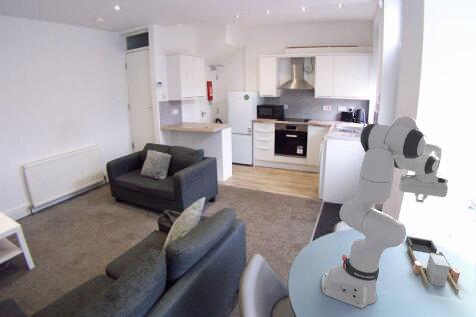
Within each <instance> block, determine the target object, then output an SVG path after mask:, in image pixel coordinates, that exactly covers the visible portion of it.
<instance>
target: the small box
mask: <svg viewBox="0 0 476 317" xmlns="http://www.w3.org/2000/svg"><path fill="white" fill-rule="evenodd" d="M444 257H445V255H444V256H439V255H434V254H430V253H429V256H428V260H427V263H426V264H427V265H426V267H427V268H426V272H425V275H426V278H427V280H428V282H429V284H432V285H436V286H440V287H445V286H446V284H447V283H446V282H447V280H448V279H447V276H448V272H449V268H450V267H451V265H450V264H449V265H450V266H449V265H448V263H449V262H448V260H447V258H446V257H445V258H446V259H445V258H444ZM446 260H447V261H446ZM447 262H448V263H447Z"/></svg>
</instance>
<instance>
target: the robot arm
mask: <svg viewBox="0 0 476 317" xmlns="http://www.w3.org/2000/svg"><path fill="white" fill-rule="evenodd" d="M359 141H360V145H361V146H362V149H363V150H364V153H365V154H364V156H363V159H362V163H361V167H360V174H359V181H358V187H357V191H356V194H355V196H354V197H353V198H352V199H351V200H347V201H346V202H344V203H343V204H342V205H341V207H340V210H339V218H340V220H341V221H342V222H343V223H344V224H345V225H347V227H349V228H351V229H353V230H355V231H357V232H358V233H360V234H362V235H363V236H364V237H365V238H360V239H356V240H354V241H353V242H352V243H351V246H350V251H349V252H350V253H349V257H348V256H347V255H346V254H343V255H342V256H341V257H342V259H341V260H342V261H343V262H342V263H341V264H338V265H335V266H334V265H333V266H332V267H331V268H330V269H329V271H328V272H325V273H324V274H323V275H322V277H321V281H320V285H321V286H320V287H321V291H322V292H323V294H324V295H325V296H327V297H330V298H333V299H336V300H338V301H340V302H343V303H346V304H348V305H350V306H354V307H357V308H359V309H363V308H365V307H366V306H368V305H373V304H374V303H375V302H376V301H377V299H378V292H377V281H378V278H379V273H380V267H379V265H380V260H381V257H382V254H383V253H384V251H385V250H387V249H389V248H396V247H398V246H400V245H401V244H402V243H403V242H404V241H405V240H406V238H407V229H406V227H405V224H403V223H402V222H401V221H400V220H398V219H396V218H395V217H393V216H391V215H389V214H387V213H385V212H383V211H380V210H378V209H376V205H379V204H380V205H381V204H383V203H384V204H385V203H386V202H388V200H389V199H390V198H391V196H392V191H393V189H392V188H393V182H394V175H395V168H396V169H400V170H406V171H409V172H412V173H413V172H414V174H411V173H403V174H402V175H401V176H400V182H399V184H398V189H399V191H400V192H402V193H403V192H404V193H409V194H410V193H411V194H414V197H415V202H417V203H422V204H423V203H424V200H426V199H427V198H428V196H432V197H437V198H445V197H446V196H447V195H448V189H449V187H448V182H449V180H448V179H447V178H446V177H445V176H443V175H441V174H439V173H438V172H439V167H440V164H441V158H442V153H443V152H442V151H443V149H442V146H440V145H438V144H432V143H427V136H426V134H425V131H424V129H423V127H422V126H421V124H420V123H419V121H417V120H416V119H415V118H413V116H412V117H411V116H408V115H403V116H399V117H396V118H395V119H394V120H393V121H392V122H391V124H385V123H384V124H383V123H381V124H380V123H377V122H376V123H369V124H367V125H366V126H365V127H363V129H362V130H361V133H360V140H359ZM420 195H423V196H422V197H419V196H420Z"/></svg>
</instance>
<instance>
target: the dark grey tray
mask: <svg viewBox="0 0 476 317" xmlns="http://www.w3.org/2000/svg"><path fill="white" fill-rule="evenodd" d="M405 241H406V245H407V246H409V247H411V249H412V251H414V252H419V253H426V254H430V253H437V251H438V248H437V246H436V245H435V243H434V242H433V240H432V239H426V238H420V237H413V236H408V235H406V237H405Z"/></svg>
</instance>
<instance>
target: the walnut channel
mask: <svg viewBox="0 0 476 317" xmlns="http://www.w3.org/2000/svg"><path fill="white" fill-rule="evenodd" d="M407 246H408V245H407ZM413 251H414V250H412V249H411V247H409V246H408V247H407V254H408V256H409V258H410V262H411V264H412V267H413V266H414V261H417V259H416V257H415V254H414V252H413ZM438 254H441V256H444V258H445V259H446V261H447V263H448V265H449V266H450V268H449V273H450V274H451V270H452V268H453V267H452V266H451V265H450V263H449V262H448V260H447V258H446V257H445V255H444V253H443V252H442V251H439V253H438Z"/></svg>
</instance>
